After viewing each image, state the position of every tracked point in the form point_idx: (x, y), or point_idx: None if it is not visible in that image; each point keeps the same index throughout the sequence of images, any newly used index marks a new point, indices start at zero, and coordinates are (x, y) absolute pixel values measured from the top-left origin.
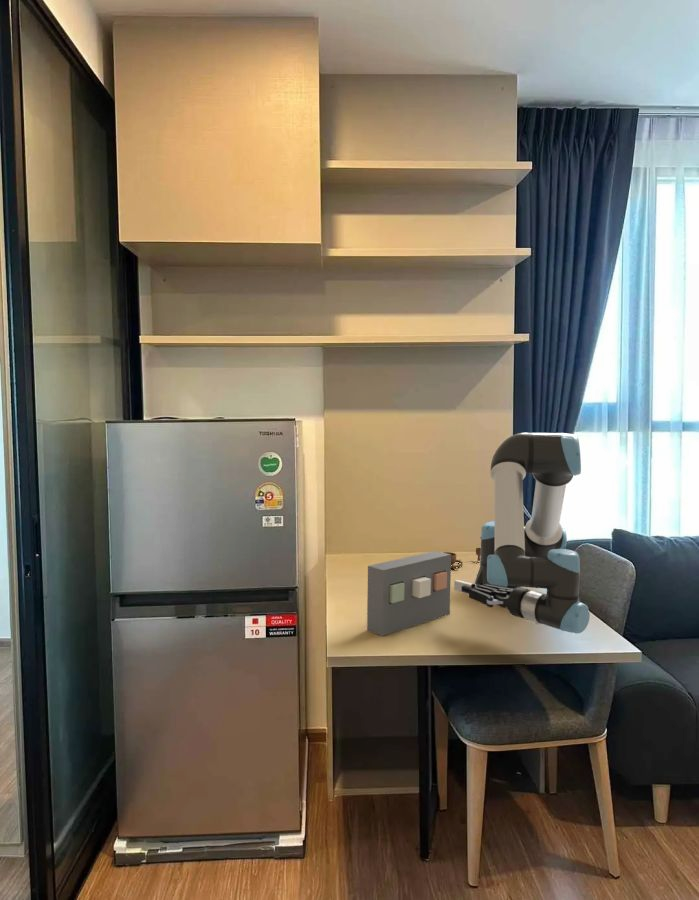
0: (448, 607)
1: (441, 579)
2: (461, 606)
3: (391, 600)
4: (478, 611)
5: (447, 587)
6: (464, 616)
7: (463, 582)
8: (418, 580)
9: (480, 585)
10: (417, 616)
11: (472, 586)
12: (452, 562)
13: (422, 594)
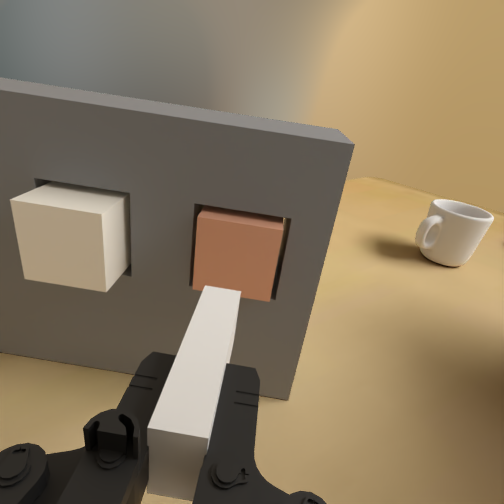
0: (284, 376)
1: (233, 251)
2: (398, 392)
3: None
4: (429, 474)
5: (291, 302)
6: (319, 458)
7: (201, 332)
8: (39, 195)
9: (229, 488)
10: (93, 342)
11: (101, 441)
12: None
13: (45, 269)
